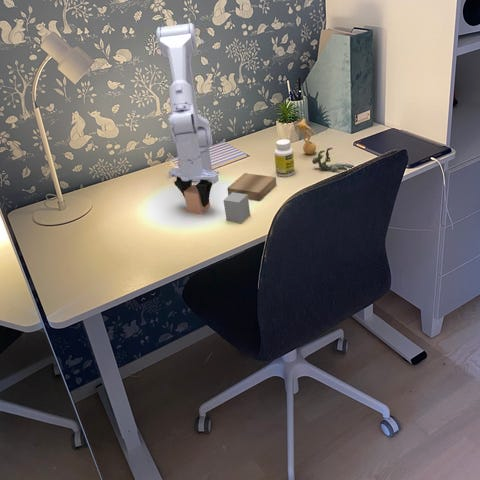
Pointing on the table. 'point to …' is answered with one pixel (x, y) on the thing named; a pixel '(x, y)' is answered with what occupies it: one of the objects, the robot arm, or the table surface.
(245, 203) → the medium grey block
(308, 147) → the figurine
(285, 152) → the supplement bottle
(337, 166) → the zombie figurine
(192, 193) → the terracotta block
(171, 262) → the table surface
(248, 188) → the walnut slab
